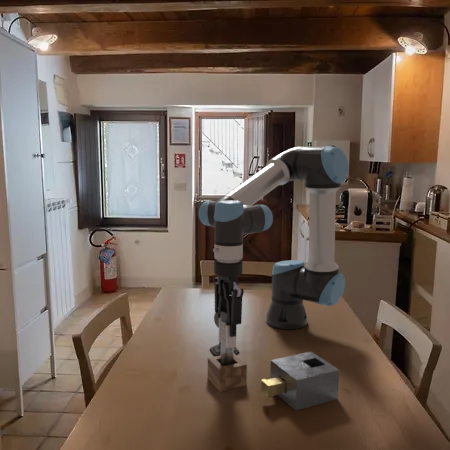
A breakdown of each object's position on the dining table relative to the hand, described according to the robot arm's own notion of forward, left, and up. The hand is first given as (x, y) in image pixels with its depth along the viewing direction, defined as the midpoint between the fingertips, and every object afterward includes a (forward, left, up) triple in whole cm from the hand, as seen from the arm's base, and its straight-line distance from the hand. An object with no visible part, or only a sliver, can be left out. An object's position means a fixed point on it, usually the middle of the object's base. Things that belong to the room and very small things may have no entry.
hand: (227, 343), depth 124 cm
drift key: (-8, +14, -9) cm, 18 cm away
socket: (-15, +14, -11) cm, 23 cm away
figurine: (-8, -18, -11) cm, 22 cm away
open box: (0, 0, -11) cm, 11 cm away
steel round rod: (0, 0, -9) cm, 9 cm away
